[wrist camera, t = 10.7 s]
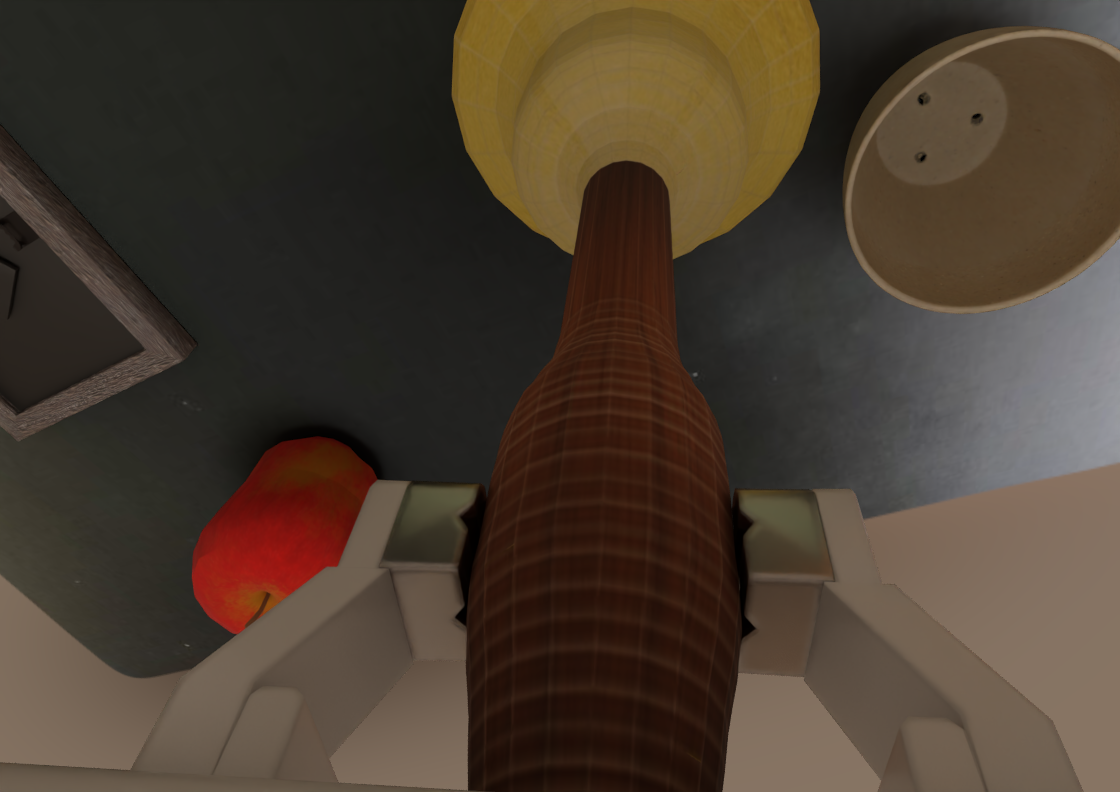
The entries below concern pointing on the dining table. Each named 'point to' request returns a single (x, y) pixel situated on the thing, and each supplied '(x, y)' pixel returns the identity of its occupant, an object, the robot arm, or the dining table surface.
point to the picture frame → (67, 307)
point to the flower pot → (988, 169)
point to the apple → (279, 529)
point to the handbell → (617, 380)
